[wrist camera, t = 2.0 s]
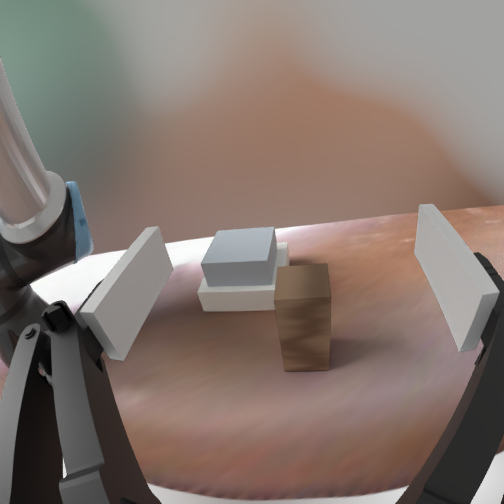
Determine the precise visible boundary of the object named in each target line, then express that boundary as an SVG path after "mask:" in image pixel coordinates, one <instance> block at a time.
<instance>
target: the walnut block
mask: <svg viewBox="0 0 504 504" xmlns="http://www.w3.org/2000/svg"><path fill="white" fill-rule="evenodd" d="M274 306H275V312H276V318H277V324H278V331H279V337H280V343H281V350H282V356H283V362H284V369H285V371H316V370H329V365H330V334H331V293H330V283H329V274H328V265H327V264H313V265H296V266H280V267H278V268H277V276H276V284H275V292H274Z"/></svg>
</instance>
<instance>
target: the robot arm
mask: <svg viewBox="0 0 504 504" xmlns="http://www.w3.org/2000/svg"><path fill="white" fill-rule="evenodd" d="M92 250H93V241H92V237H91V233H90V230H89V227H88V223H87V219H86V216H85V212H84V208H83V204H82V201H81V196H80V192H79V188H78V185H77V183H76V182H74V181H72V182H66V183H65V184H64V182H63V180H62V179H61V177H60V176H59V175H58V174H56V173H54V172H51V171H46V170H45V168H44V167H43V164H42V162H41V160H40V158H39V156H38V154H37V152H36V150H35V148H34V145H33V143H32V141H31V138H30V136H29V134H28V132H27V129H26V127H25V125H24V122H23V120H22V118H21V115H20V113H19V110H18V108H17V104H16V102H15V99H14V96H13V94H12V91H11V88H10V86H9V82H8V79H7V76H6V73H5V70H4V67H3V64H2V60H1V57H0V358H1V360H2V361H3V362H4V363H5V365H6V366H7V367H8V368H9V371H8V375H7V378H6V382H5V385H4V389H3V393H2V397H1V401H0V504H162V503H161V502H160V501H159V499H158V498H157V497H156V496H155V495H154V494H153V493H152V492H151V490H150V489H149V487H148V485H147V483H146V480H145V478H144V476H143V474H142V471H141V469H140V467H139V464H138V462H137V460H136V457H135V455H134V452H133V450H132V447H131V445H130V442H129V439H128V437H127V434H126V431H125V428H124V426H123V423H122V420H121V417H120V414H119V411H118V408H117V405H116V402H115V398H114V395H113V392H112V388H111V385H110V381H109V378H108V374H107V370H106V366H105V363H104V360H103V358H102V357H101V354H102V352H103V350H104V351H105V352H106V354H107V355H108V356H109V358H110V359H114V360H121V361H124V360H125V358H126V356H127V354H128V352H129V350H130V348H131V346H132V344H133V342H134V340H135V338H136V336H137V335H138V333H139V331H140V329H141V327H142V325H143V323H144V321H145V320H146V318H147V316H148V314H149V312H150V310H151V308H152V307H153V305H154V303H155V301H156V299H157V298H158V296H159V294H160V292H161V290H162V289H163V287H164V285H165V283H166V282H167V280H168V278H169V276H170V275H171V273H172V271H173V267H172V264H171V261H170V258H169V255H168V253H167V250H166V247H165V244H164V242H163V239H162V235H161V233H160V230H159V226H157V227H149V228H146V229H145V230H144V231H143V232H142V233H141V235H140V236H139V237H138V238H137V239H136V240H135V242H134V243H133V244H132V245H131V247H130V248H129V249H128V250H127V251H126V252H125V254H124V255H123V256H122V257H121V258H120V260H119V261H118V262H117V263H116V265H115V266H114V267H113V268H112V270H111V271H110V272H109V273H108V275H107V276H106V277H105V278H104V279H103V280H102V281H100V282H99V283H98V284H97V285H96V286H95V288H94V289H93V290H92V292H91V293H90V294H89V296H88V298H86V300H85V301H84V302H83V304H82V305H81V306H80V308H79V309H78V310H77V312H76V313H75V314H74V315H73V314H72V312H71V310H70V309H69V307H68V305H67V304H66V302H65V301H57V302H54V303H52V304H51V305H49V304H48V303H47V302H46V301H45V300H43V299H42V298H41V297H40V296H39V295H38V294H37V293H35V292H34V291H33V289H32V288H31V286H30V284H31V283H33V282H35V281H37V280H39V279H41V278H43V277H45V276H47V275H49V274H51V273H54V272H56V271H58V270H60V269H62V268H65V267H67V266H69V265H71V264H75V263H77V262H78V261H79V260H81V259H82V258H84V257H86V256H88V255H89V254H91V252H92ZM414 254H415V256H416V258H417V260H418V262H419V263H420V265H421V267H422V269H423V271H424V273H425V275H426V277H427V279H428V281H429V283H430V286H431V288H432V290H433V292H434V294H435V296H436V298H437V300H438V303H439V305H440V307H441V309H442V312H443V314H444V316H445V319H446V321H447V323H448V326H449V328H450V331H451V333H452V336H453V338H454V341H455V343H456V346H457V348H458V351H459V352H464V351H468V350H473V349H475V348H476V346H477V344H478V342H479V340H480V338H481V340H482V342H483V344H484V347H483V349H482V351H481V353H480V355H479V356H478V358H477V360H476V362H475V365H476V366H475V369H474V371H473V374H472V376H471V378H470V381H469V383H468V385H467V387H466V390H465V392H464V394H463V396H462V398H461V400H460V402H459V404H458V406H457V408H456V410H455V412H454V414H453V416H452V418H451V420H450V422H449V424H448V426H447V427H446V429H445V431H444V433H443V435H442V436H441V438H440V440H439V441H438V443H437V445H436V447H435V448H434V450H433V451H432V453H431V455H430V456H429V458H428V459H427V461H426V462H425V464H424V465H423V467H422V468H421V470H420V471H419V473H418V474H417V476H416V477H415V478H414V480H413V481H412V483H411V484H410V485H409V487H408V488H407V489H406V491H405V492H404V494H403V495H402V496H401V497H400V499H399V500H398V501H397V502H396V503H395V504H470V503H471V501H472V499H473V497H474V496H475V494H476V492H477V490H478V488H479V486H480V484H481V483H482V481H483V479H484V477H485V475H486V473H487V471H488V469H489V467H490V465H491V462H492V460H493V458H494V456H495V454H496V451H497V449H498V447H499V444H500V442H501V440H502V437H503V434H504V281H503V280H502V278H501V277H500V276H499V275H498V273H497V271H496V270H495V269H494V268H493V266H492V264H491V263H490V262H489V260H488V259H487V258H485V257H484V256H483V255H481V254H480V253H479V252H477V253H472V251H471V250H470V249H469V247H468V246H467V245H466V243H465V242H464V241H463V239H462V238H461V237H460V236H459V234H458V233H457V232H456V231H455V229H454V228H453V227H452V226H451V225H450V223H449V222H448V221H447V220H446V219H445V217H444V216H443V215H442V214H441V213H440V211H439V210H438V209H437V208H436V207H435V206H434V205H433V204H419V214H418V225H417V234H416V243H415V251H414ZM38 366H40V367H41V369H42V370H43V371H44V372H43V376H42V375H41V374H40V373H39V371H38ZM63 458H64V463H65V467H66V472H67V476H66V477H65V478H63ZM501 504H504V495H503V498H502V501H501Z"/></svg>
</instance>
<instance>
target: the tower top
mask: <svg viewBox="0 0 504 504" xmlns="http://www.w3.org/2000/svg"><path fill="white" fill-rule="evenodd" d="M276 255H277V242H276V235H275V229H274V227H264V228H249V229H237V230H224V231H217V233H216V235H215V237H214V239H213V241H212V243H211V245H210V247H209V249H208V251H207V253H206V254H205V256H204V258H203V260H202V262H201V266H202V269H203V272H204V275H205V279H206V282H207V285H208V287H221V286H260V285H272V279H273V273H274V267H275V261H276Z"/></svg>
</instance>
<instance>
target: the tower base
mask: <svg viewBox="0 0 504 504" xmlns="http://www.w3.org/2000/svg"><path fill="white" fill-rule="evenodd" d="M289 262H290V259H289V251H288V243H287V242H282V243H277V255H276V261H275V267H274V273H273V279H272V285H260V286H221V287H208V285H207V282H206V279H205V275H204V278H203V280H202V282H201V285H200V287H199V289H198V292H197V294H198V296H199V299H200V302H201V305H202V308H203V311H261V310H275V306H274V292H275V284H276V276H277V268H278V267H280V266H289Z"/></svg>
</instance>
